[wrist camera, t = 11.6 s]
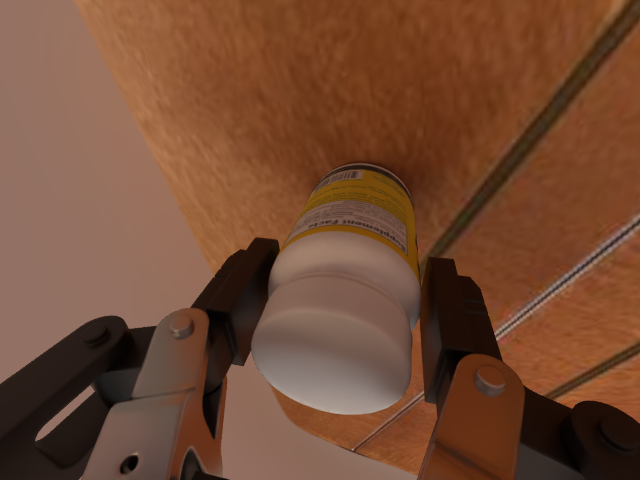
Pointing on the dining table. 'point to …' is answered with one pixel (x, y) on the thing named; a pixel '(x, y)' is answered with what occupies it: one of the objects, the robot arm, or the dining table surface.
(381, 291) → the supplement bottle
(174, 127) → the dining table surface
